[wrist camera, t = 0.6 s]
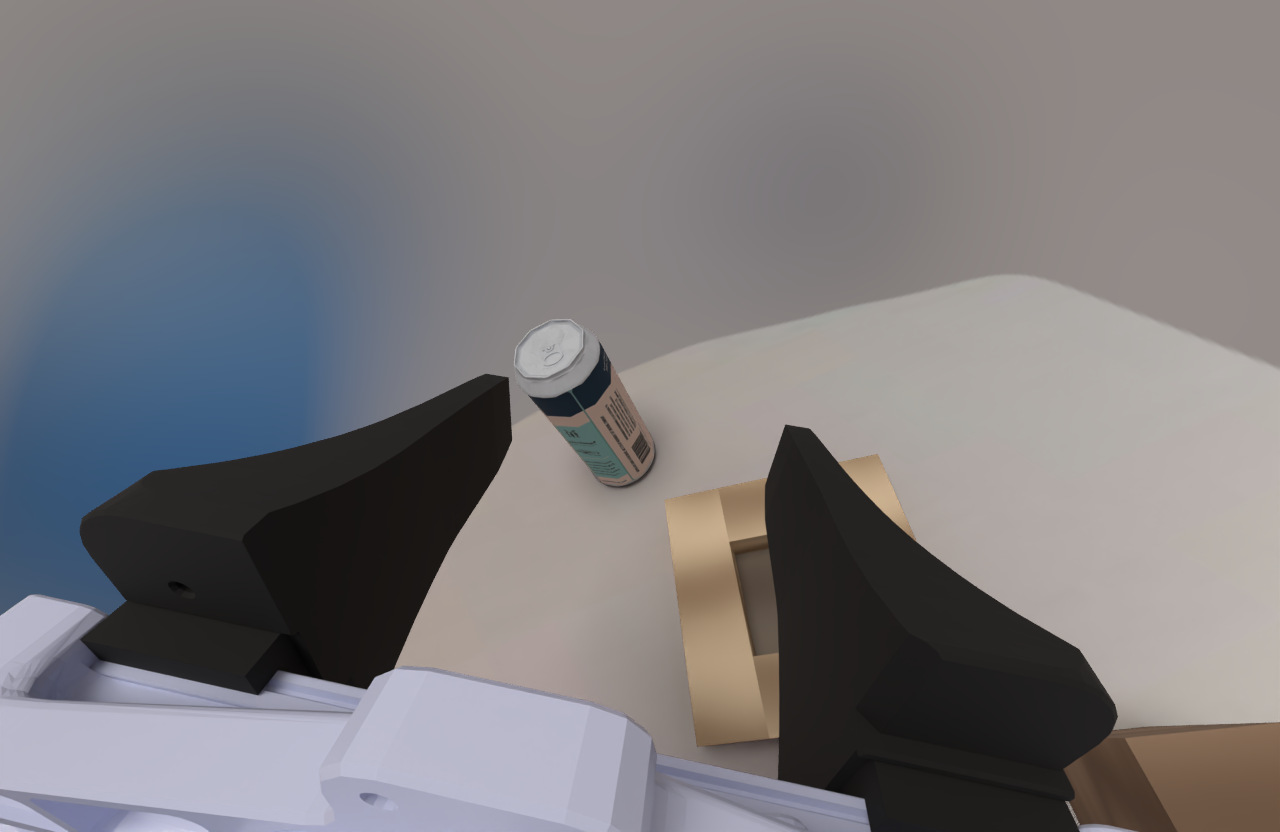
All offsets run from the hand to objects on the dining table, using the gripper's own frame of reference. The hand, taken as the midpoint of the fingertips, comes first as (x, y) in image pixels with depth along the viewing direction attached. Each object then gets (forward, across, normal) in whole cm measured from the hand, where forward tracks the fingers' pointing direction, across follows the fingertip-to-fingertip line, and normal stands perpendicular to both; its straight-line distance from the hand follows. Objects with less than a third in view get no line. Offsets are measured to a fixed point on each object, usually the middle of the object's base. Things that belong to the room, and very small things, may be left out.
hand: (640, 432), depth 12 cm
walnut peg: (0, -20, +13) cm, 24 cm away
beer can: (+16, +2, +14) cm, 21 cm away
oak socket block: (+7, -9, +14) cm, 18 cm away
